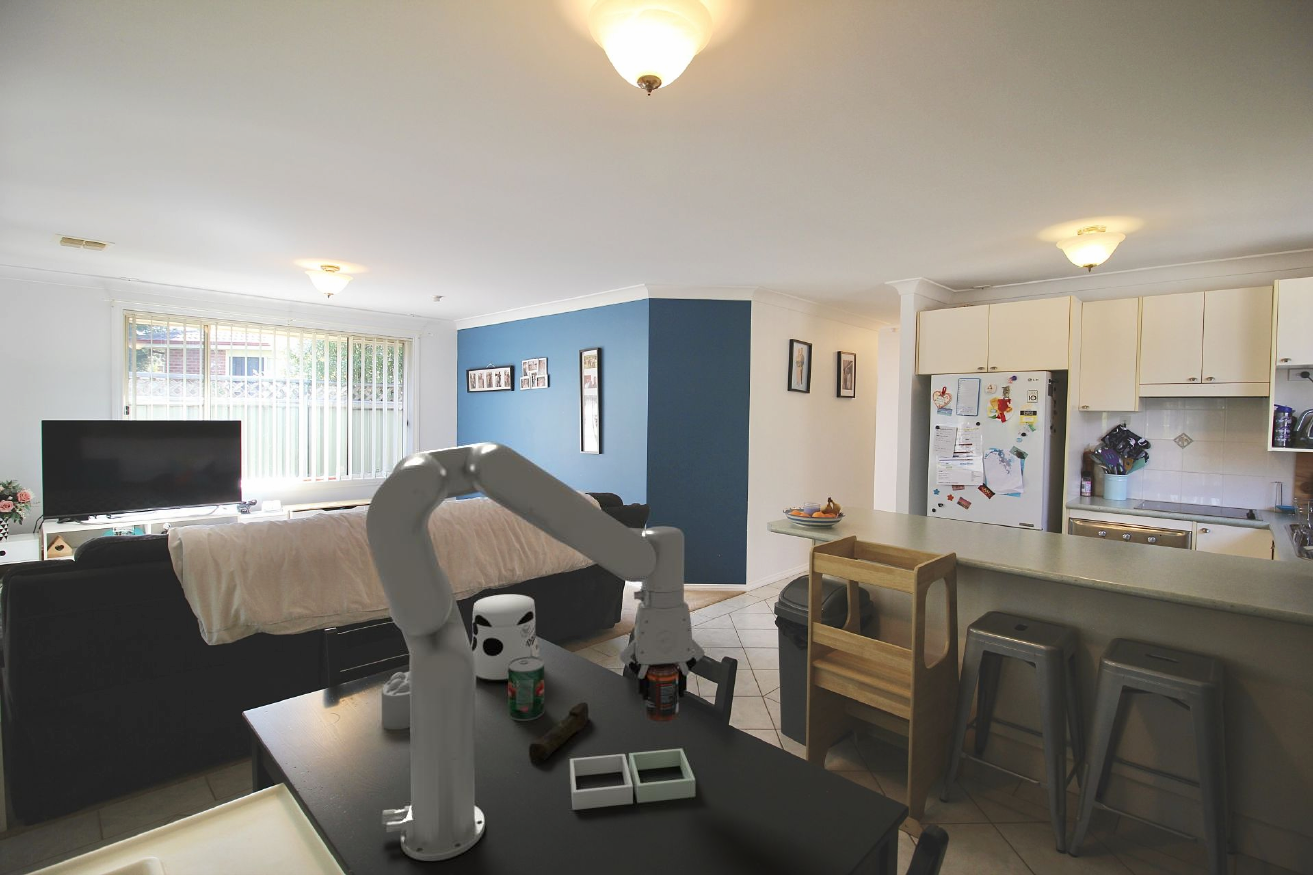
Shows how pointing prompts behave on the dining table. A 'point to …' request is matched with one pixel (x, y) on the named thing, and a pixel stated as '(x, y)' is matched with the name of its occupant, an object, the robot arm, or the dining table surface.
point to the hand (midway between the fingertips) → (662, 694)
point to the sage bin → (662, 788)
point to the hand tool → (559, 733)
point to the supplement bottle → (662, 692)
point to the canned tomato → (526, 688)
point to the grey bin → (604, 794)
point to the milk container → (502, 634)
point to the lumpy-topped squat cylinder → (396, 702)
